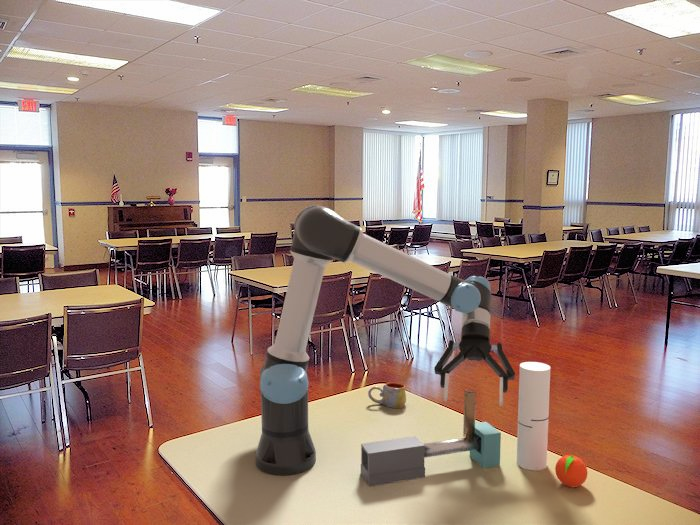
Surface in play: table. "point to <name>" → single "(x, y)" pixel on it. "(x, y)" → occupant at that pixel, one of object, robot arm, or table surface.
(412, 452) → the outer sleeve
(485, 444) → the end socket
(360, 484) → the table surface
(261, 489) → the table surface
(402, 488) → the table surface
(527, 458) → the cylindrical container
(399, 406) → the mug
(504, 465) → the table surface
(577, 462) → the clementine
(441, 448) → the sliding bolt
